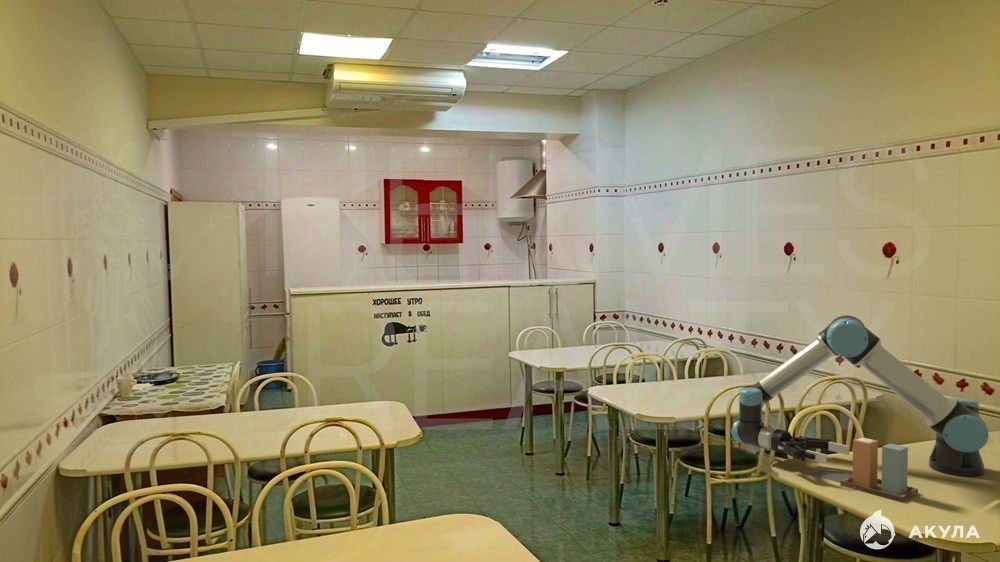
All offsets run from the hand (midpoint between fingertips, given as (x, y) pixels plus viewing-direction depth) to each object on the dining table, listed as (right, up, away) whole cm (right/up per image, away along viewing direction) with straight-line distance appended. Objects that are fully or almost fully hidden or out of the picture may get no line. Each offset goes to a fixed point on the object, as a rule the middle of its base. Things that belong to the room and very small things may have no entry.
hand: (838, 454), depth 219 cm
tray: (+8, -9, -9) cm, 15 cm away
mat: (0, -8, +4) cm, 9 cm away
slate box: (+10, -8, -13) cm, 18 cm away
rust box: (+5, -8, -6) cm, 11 cm away
